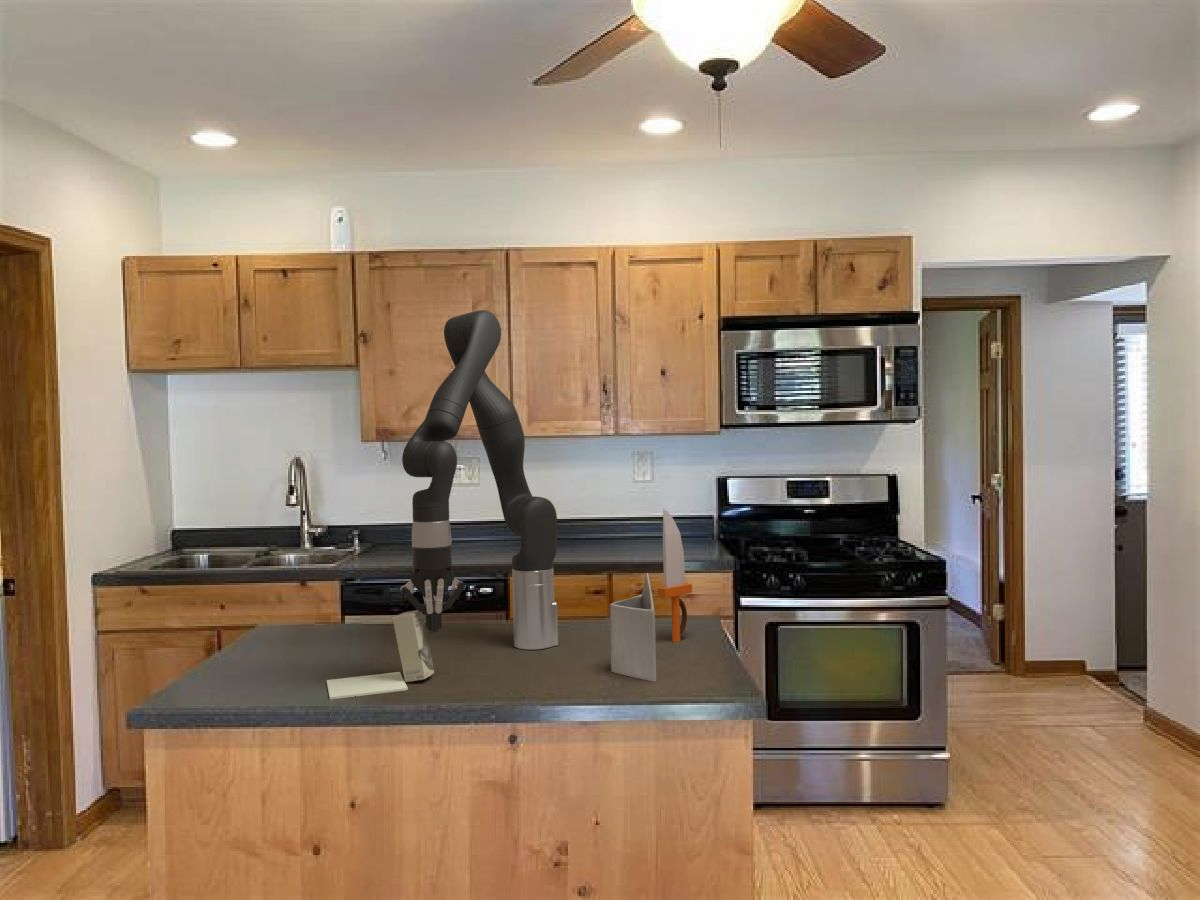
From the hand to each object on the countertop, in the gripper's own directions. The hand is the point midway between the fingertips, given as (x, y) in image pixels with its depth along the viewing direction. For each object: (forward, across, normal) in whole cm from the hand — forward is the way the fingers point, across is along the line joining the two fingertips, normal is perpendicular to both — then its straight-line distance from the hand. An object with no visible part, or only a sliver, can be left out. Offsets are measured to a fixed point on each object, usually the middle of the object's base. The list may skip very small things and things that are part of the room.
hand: (433, 631), depth 174 cm
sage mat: (+9, +13, 0) cm, 16 cm away
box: (+9, +3, 0) cm, 9 cm away
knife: (+9, -55, -7) cm, 56 cm away
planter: (+9, -37, +11) cm, 40 cm away
